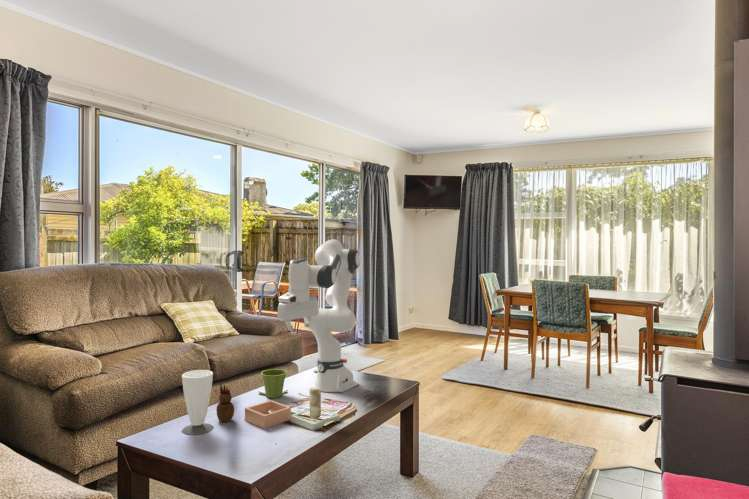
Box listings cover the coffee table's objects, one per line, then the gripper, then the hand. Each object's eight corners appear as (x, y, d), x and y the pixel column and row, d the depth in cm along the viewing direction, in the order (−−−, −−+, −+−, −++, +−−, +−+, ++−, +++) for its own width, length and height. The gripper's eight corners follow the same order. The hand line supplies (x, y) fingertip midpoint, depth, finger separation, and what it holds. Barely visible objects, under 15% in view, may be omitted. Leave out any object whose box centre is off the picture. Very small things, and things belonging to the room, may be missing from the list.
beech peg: (315, 415, 204) (315, 386, 203) (323, 418, 201) (323, 389, 200) (307, 418, 200) (307, 389, 200) (314, 421, 197) (314, 391, 197)
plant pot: (292, 395, 232) (292, 371, 231) (272, 402, 223) (272, 377, 222) (275, 390, 239) (276, 367, 239) (255, 396, 230) (255, 372, 230)
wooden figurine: (213, 422, 199) (213, 384, 198) (222, 417, 204) (222, 380, 204) (227, 424, 196) (227, 386, 196) (236, 419, 202) (236, 382, 201)
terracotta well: (271, 411, 210) (271, 400, 210) (290, 419, 202) (290, 407, 202) (244, 420, 201) (244, 408, 201) (264, 428, 192) (264, 416, 192)
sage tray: (316, 412, 210) (316, 406, 210) (339, 420, 201) (339, 414, 201) (290, 421, 200) (290, 415, 200) (313, 430, 191) (313, 424, 191)
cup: (175, 432, 188) (174, 375, 187) (196, 421, 199) (196, 368, 198) (199, 437, 184) (199, 379, 183) (219, 426, 194) (219, 371, 194)
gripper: (312, 293, 222) (312, 324, 222) (275, 297, 206) (275, 331, 207) (321, 294, 218) (321, 326, 218) (284, 299, 202) (284, 333, 203)
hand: (298, 328), depth 212 cm, fingers open, 8 cm apart
